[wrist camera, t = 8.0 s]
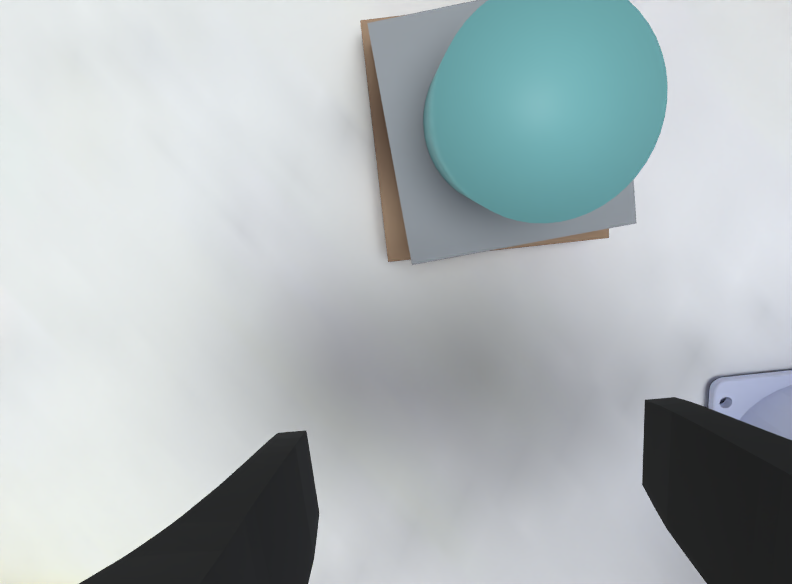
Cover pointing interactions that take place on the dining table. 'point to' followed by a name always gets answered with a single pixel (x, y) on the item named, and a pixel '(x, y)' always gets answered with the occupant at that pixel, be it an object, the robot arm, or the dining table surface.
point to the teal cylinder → (546, 106)
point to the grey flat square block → (415, 171)
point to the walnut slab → (387, 177)
